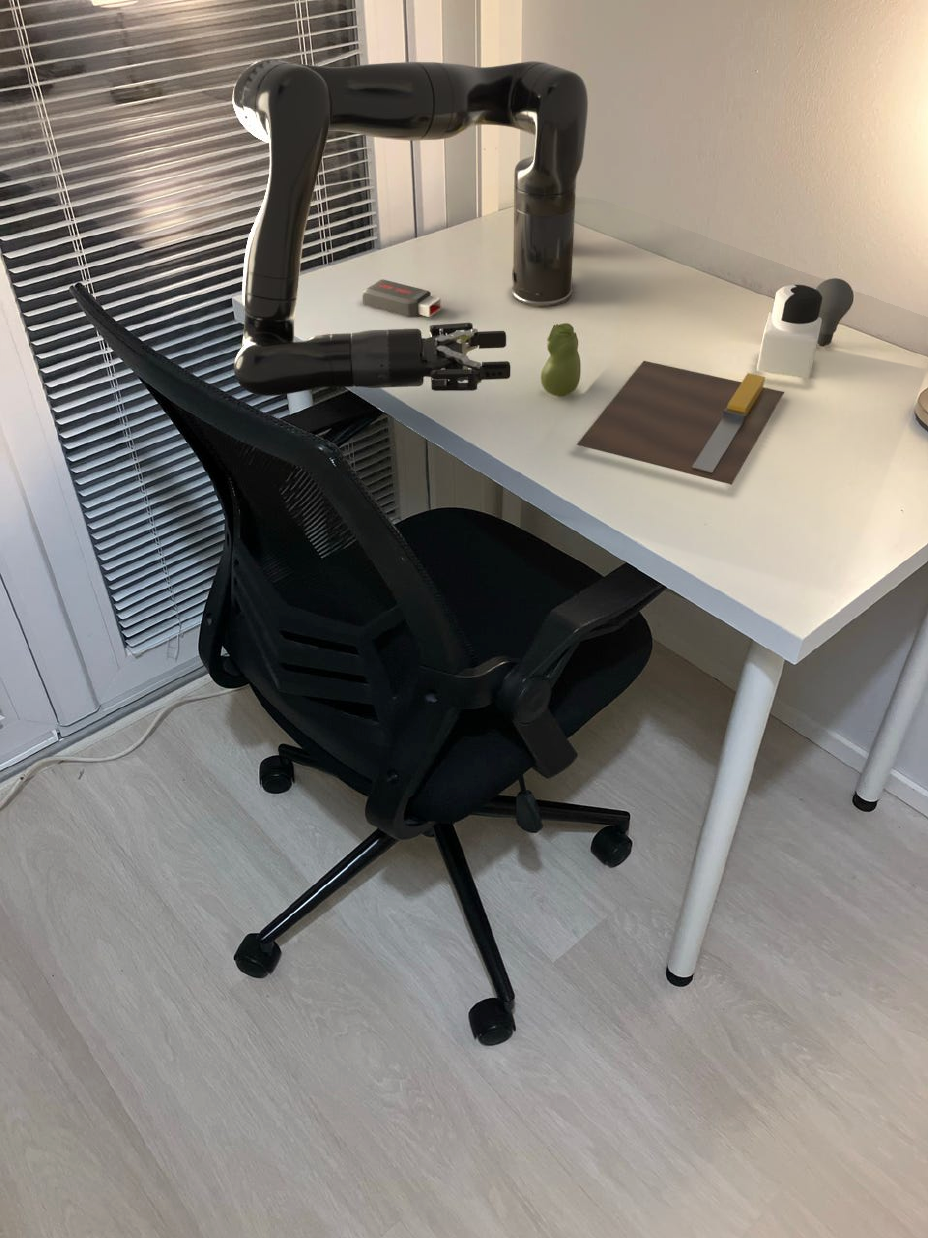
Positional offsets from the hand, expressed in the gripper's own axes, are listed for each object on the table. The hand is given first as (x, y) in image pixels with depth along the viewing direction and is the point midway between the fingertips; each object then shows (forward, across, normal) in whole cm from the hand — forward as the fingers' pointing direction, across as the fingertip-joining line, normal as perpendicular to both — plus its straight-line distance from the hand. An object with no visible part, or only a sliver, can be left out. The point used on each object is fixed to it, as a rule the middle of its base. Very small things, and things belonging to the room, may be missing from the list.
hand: (508, 353), depth 141 cm
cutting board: (+22, -10, +6) cm, 25 cm away
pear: (+7, 0, +6) cm, 10 cm away
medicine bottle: (+39, +4, +6) cm, 40 cm away
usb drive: (-14, +28, +6) cm, 33 cm away
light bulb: (+47, +11, +6) cm, 48 cm away
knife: (+28, -13, +5) cm, 31 cm away
